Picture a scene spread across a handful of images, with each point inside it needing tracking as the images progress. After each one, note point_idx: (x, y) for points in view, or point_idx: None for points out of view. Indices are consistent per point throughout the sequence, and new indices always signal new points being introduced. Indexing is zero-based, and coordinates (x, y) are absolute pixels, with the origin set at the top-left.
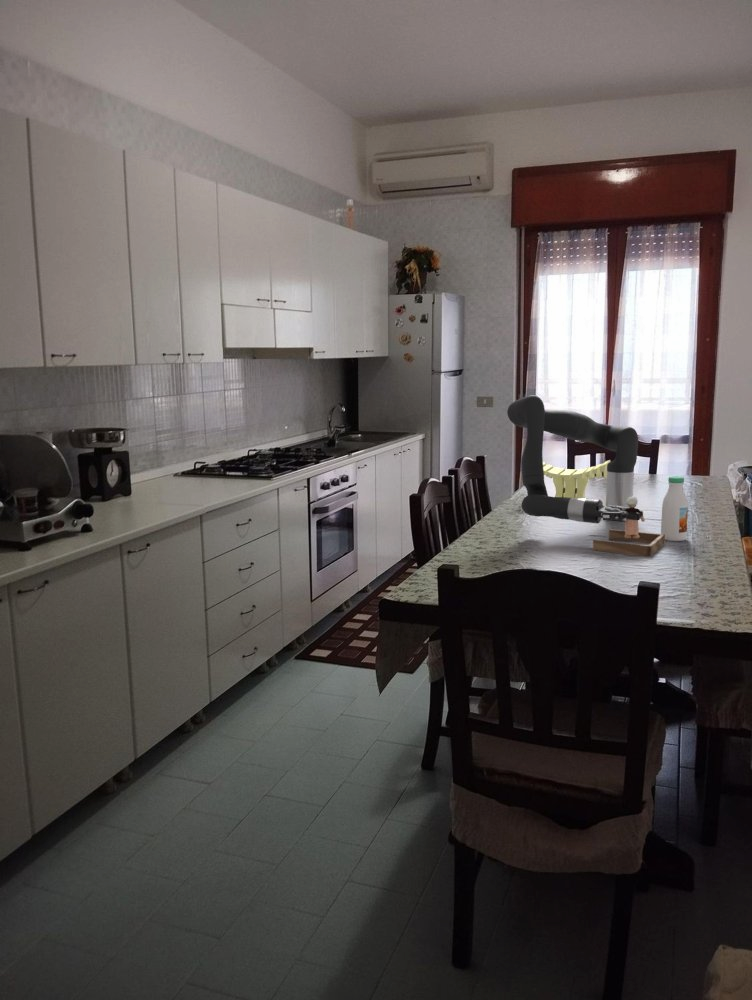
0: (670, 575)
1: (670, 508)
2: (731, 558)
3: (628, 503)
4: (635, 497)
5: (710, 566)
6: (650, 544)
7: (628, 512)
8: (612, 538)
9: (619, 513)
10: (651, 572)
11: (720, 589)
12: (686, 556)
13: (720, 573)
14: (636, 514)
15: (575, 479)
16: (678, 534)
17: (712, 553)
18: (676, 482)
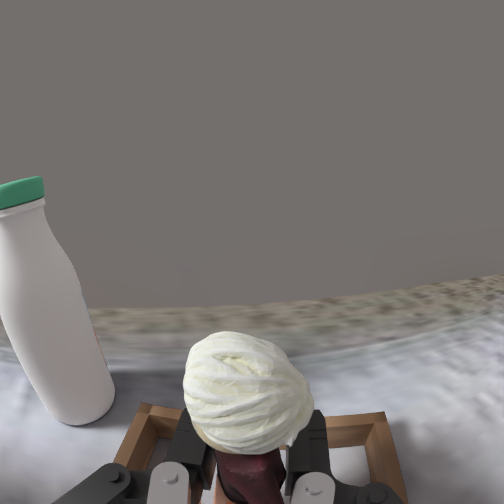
0: (485, 345)
1: (69, 311)
2: (275, 307)
3: (306, 420)
4: (233, 333)
5: (369, 321)
6: (352, 422)
7: (311, 462)
8: None
9: (398, 502)
10: (500, 371)
11: (475, 293)
12: (307, 366)
13: (403, 305)
14: (313, 414)
15: None
16: (109, 374)
17: (243, 331)
18: (40, 195)
